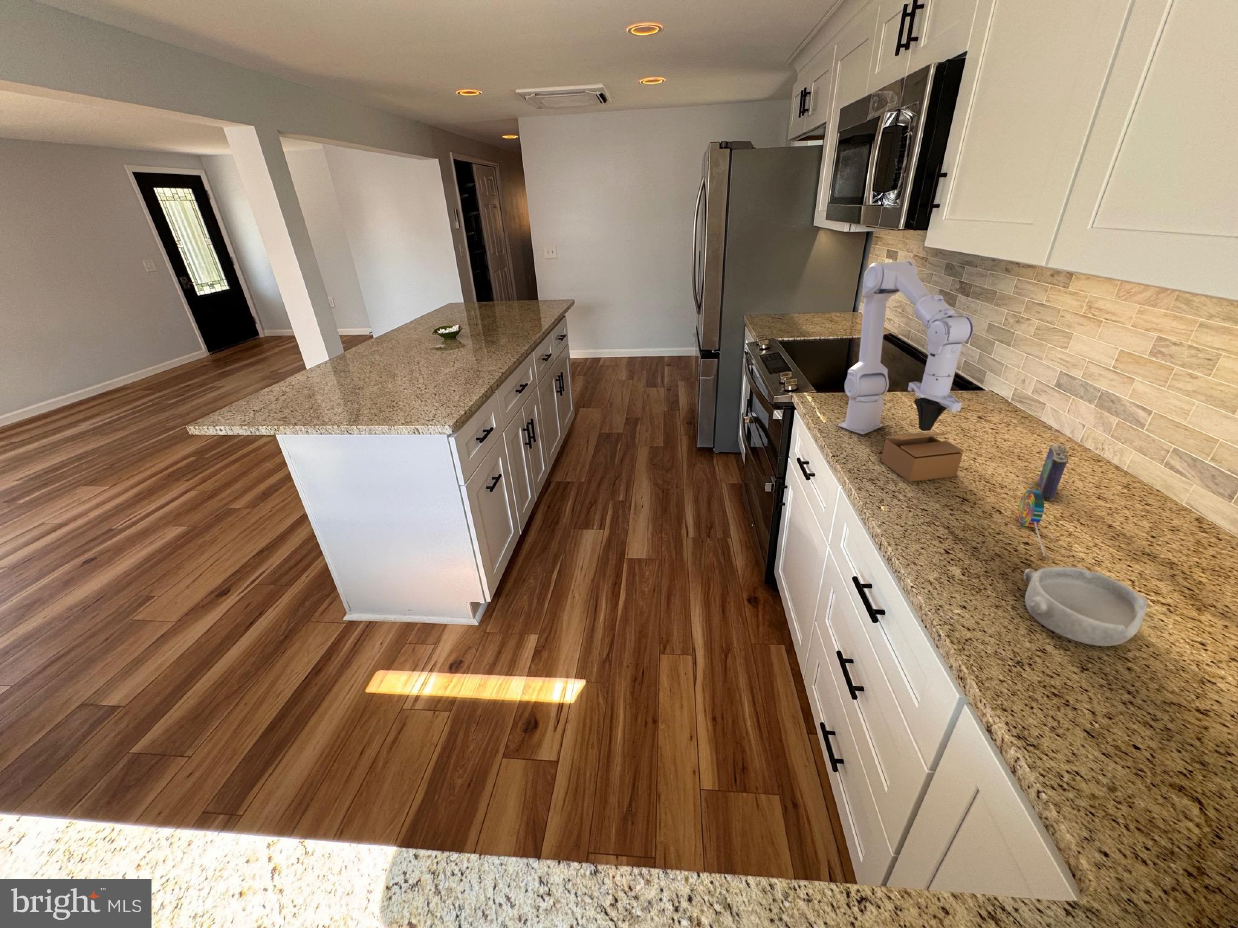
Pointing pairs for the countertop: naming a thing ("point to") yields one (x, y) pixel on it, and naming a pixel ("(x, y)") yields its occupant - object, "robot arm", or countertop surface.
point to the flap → (916, 435)
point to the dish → (1084, 605)
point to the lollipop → (1031, 510)
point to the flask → (1052, 471)
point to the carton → (922, 458)
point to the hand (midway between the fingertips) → (924, 429)
